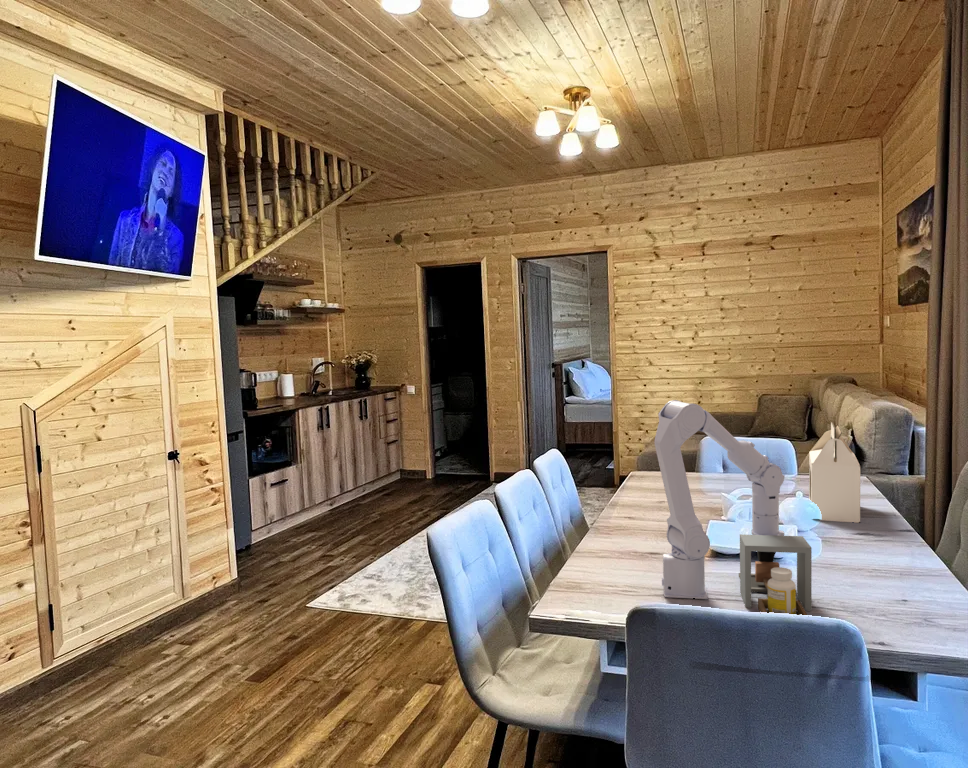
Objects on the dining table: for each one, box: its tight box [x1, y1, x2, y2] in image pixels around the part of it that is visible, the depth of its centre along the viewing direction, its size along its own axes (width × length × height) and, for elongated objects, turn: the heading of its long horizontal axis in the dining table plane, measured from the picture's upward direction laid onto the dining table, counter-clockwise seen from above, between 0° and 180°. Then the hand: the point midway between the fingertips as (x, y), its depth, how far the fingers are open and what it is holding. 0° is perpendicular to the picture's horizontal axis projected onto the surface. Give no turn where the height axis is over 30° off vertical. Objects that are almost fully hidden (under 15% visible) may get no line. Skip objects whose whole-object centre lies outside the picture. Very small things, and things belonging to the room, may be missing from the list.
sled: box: [754, 560, 808, 615], centre depth 148 cm, size 8×22×5 cm, turn 167°
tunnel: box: [739, 533, 813, 612], centre depth 150 cm, size 13×8×14 cm, turn 77°
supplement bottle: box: [767, 566, 797, 615], centre depth 142 cm, size 5×5×10 cm
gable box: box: [808, 421, 861, 524], centre depth 216 cm, size 22×13×28 cm, turn 156°
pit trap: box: [738, 572, 797, 595], centre depth 160 cm, size 11×10×1 cm
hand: (765, 569), depth 160 cm, fingers closed
